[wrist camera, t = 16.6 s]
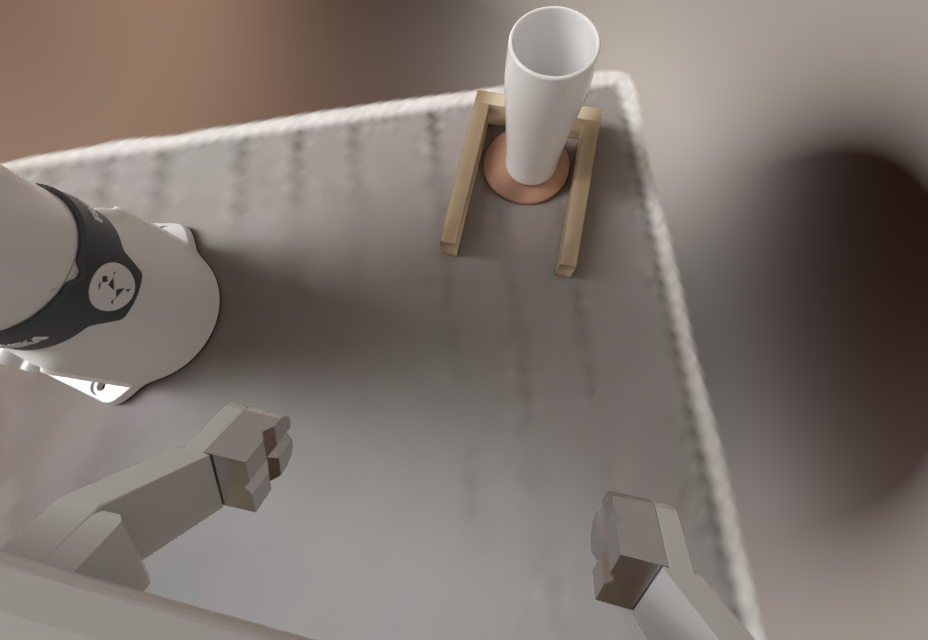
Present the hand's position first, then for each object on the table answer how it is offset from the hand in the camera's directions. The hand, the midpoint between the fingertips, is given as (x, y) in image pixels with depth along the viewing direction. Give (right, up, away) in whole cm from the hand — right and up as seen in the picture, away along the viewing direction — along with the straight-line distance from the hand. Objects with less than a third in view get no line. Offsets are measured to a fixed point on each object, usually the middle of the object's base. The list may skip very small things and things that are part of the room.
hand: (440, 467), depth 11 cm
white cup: (+8, +20, +35) cm, 41 cm away
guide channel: (+7, +18, +35) cm, 39 cm away
